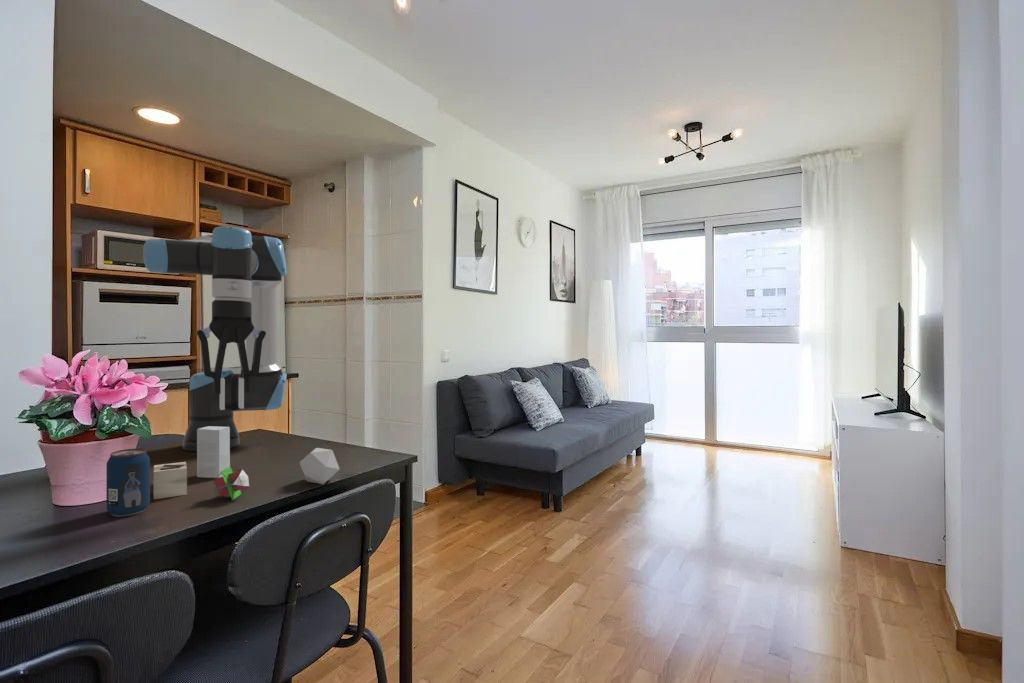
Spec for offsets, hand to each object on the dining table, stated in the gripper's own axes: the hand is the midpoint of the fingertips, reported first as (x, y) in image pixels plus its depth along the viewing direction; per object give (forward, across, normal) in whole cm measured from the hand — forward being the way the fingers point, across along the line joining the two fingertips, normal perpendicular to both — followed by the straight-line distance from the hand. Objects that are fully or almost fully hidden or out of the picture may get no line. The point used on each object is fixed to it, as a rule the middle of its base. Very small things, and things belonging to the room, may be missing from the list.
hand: (231, 408), depth 111 cm
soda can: (+20, -18, +1) cm, 27 cm away
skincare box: (+20, -2, +20) cm, 28 cm away
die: (+20, +19, +2) cm, 27 cm away
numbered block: (+20, -11, +10) cm, 25 cm away
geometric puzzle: (+20, 0, 0) cm, 20 cm away
